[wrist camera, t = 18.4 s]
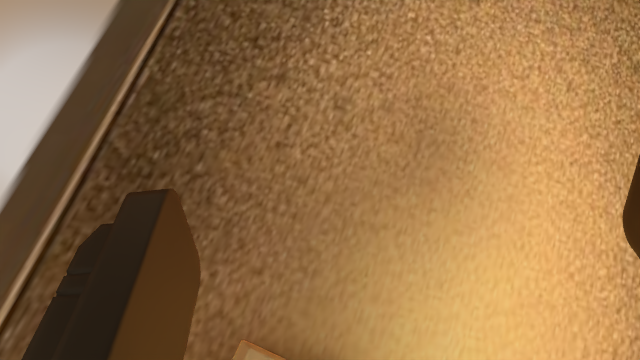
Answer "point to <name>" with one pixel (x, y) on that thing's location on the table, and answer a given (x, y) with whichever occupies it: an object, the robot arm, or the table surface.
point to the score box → (253, 352)
